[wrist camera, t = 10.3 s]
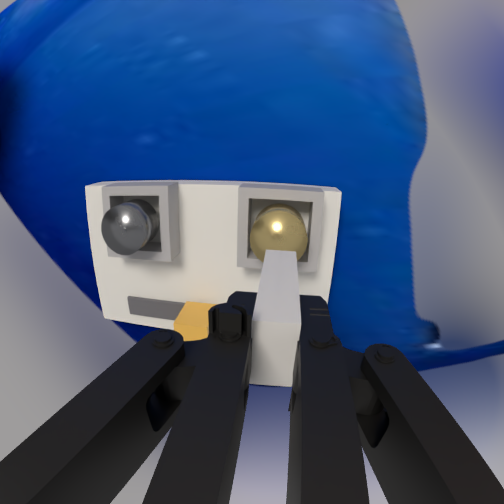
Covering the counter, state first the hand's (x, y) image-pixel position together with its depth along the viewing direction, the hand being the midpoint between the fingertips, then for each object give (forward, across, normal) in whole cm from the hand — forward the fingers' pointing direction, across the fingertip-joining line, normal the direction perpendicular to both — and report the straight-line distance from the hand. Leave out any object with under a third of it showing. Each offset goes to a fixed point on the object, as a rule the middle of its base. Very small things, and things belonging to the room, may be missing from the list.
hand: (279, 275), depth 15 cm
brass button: (+9, 0, 0) cm, 9 cm away
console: (+14, -7, -4) cm, 16 cm away
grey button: (+9, -12, 0) cm, 15 cm away
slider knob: (+10, -7, -9) cm, 15 cm away
